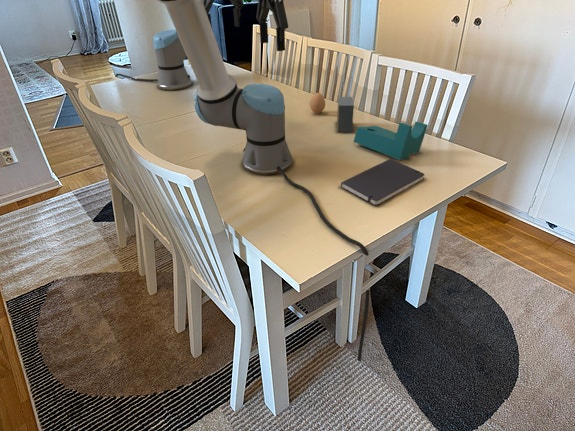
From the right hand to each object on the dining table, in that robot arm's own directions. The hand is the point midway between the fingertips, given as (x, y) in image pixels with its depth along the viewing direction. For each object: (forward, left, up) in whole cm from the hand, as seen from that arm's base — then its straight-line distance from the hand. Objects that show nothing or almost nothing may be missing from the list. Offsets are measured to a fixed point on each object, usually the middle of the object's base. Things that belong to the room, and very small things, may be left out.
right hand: (272, 46), depth 140 cm
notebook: (-55, -22, -26) cm, 64 cm away
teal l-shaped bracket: (-34, -32, -26) cm, 53 cm away
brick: (-14, -23, -26) cm, 38 cm away
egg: (+1, -17, -26) cm, 31 cm away
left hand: (+30, +15, +1) cm, 33 cm away
